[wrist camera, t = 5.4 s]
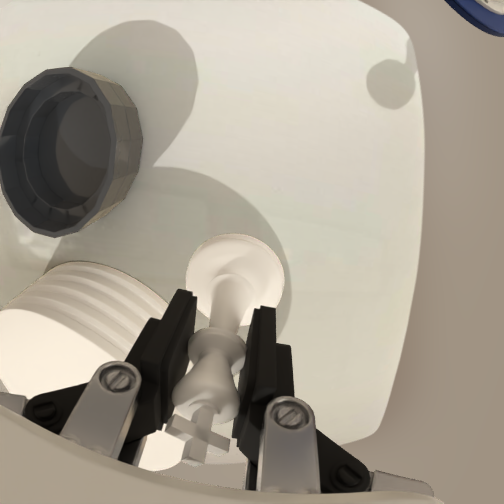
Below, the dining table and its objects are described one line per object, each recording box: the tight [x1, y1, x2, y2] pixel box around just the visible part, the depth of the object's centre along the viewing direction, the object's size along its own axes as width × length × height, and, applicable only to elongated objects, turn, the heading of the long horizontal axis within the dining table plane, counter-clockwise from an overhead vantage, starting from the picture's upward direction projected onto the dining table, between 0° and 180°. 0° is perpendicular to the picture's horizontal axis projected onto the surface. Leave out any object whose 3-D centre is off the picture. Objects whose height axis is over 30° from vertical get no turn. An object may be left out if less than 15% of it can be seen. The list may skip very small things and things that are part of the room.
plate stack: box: [0, 261, 194, 471], centre depth 31 cm, size 28×28×12 cm
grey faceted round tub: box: [0, 67, 143, 238], centre depth 24 cm, size 16×16×6 cm
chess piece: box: [164, 233, 284, 467], centre depth 10 cm, size 5×5×10 cm
